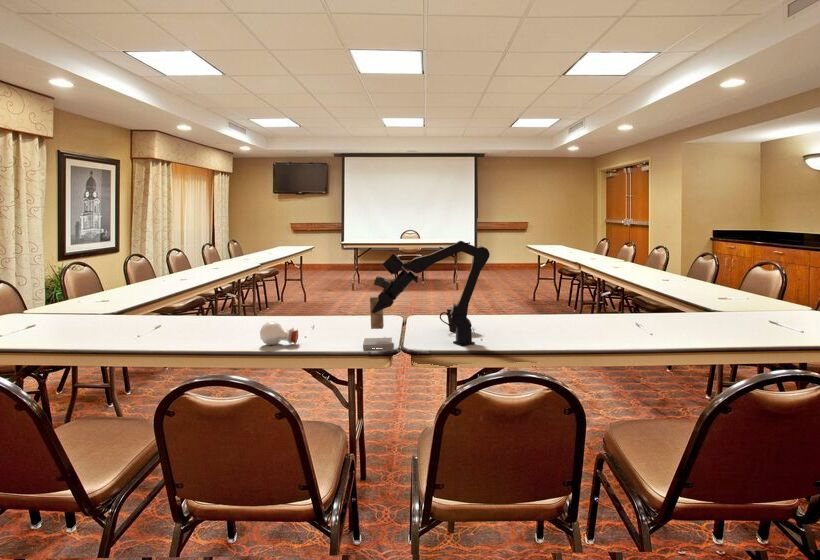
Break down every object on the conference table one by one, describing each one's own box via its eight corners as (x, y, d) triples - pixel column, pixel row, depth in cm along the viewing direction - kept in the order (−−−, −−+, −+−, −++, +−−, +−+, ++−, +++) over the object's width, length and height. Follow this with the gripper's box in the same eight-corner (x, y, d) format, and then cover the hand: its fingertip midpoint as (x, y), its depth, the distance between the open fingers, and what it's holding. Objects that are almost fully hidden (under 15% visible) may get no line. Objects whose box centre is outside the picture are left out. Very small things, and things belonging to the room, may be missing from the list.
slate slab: (391, 342, 214) (391, 337, 214) (391, 349, 203) (391, 343, 203) (364, 343, 214) (364, 338, 213) (363, 349, 203) (362, 344, 202)
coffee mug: (466, 328, 237) (466, 306, 236) (466, 332, 228) (466, 309, 227) (440, 328, 238) (440, 306, 237) (439, 332, 229) (439, 310, 228)
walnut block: (383, 326, 212) (382, 295, 211) (382, 328, 208) (381, 297, 206) (372, 326, 212) (371, 295, 211) (371, 328, 208) (369, 297, 207)
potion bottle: (260, 347, 217) (296, 351, 216) (253, 337, 209) (290, 342, 207) (266, 326, 222) (301, 330, 220) (260, 316, 213) (296, 321, 212)
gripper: (387, 266, 216) (361, 294, 218) (383, 271, 198) (354, 301, 200) (407, 285, 217) (381, 312, 219) (404, 291, 198) (376, 321, 200)
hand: (373, 311), depth 209 cm, fingers closed on walnut block, 4 cm apart
